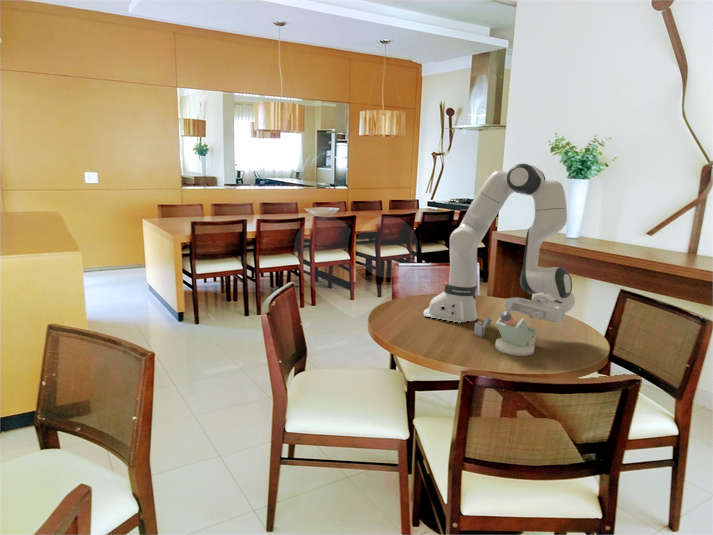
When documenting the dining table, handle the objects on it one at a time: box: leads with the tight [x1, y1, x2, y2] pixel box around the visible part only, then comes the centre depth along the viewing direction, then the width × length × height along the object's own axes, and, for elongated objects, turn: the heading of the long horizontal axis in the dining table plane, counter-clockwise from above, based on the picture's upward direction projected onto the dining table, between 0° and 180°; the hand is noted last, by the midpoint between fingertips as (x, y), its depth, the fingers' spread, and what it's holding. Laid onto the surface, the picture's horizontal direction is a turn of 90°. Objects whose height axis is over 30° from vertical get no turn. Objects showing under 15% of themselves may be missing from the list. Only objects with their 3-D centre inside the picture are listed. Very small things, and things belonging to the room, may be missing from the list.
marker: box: [499, 310, 517, 327], centre depth 165 cm, size 3×3×12 cm
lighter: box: [473, 317, 493, 338], centre depth 180 cm, size 7×2×8 cm, turn 27°
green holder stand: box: [494, 317, 537, 357], centre depth 167 cm, size 13×13×12 cm
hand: (519, 312), depth 166 cm, fingers open, 8 cm apart
